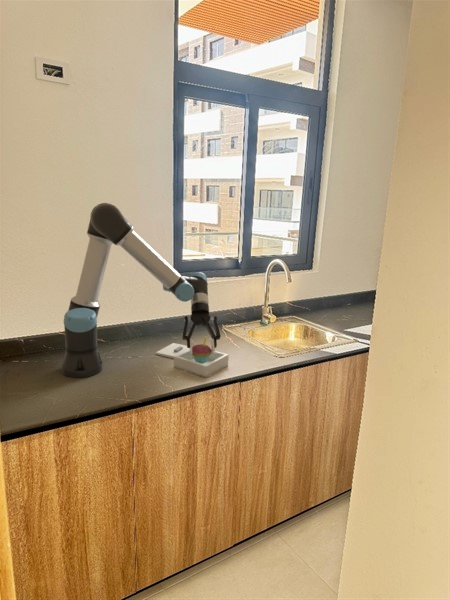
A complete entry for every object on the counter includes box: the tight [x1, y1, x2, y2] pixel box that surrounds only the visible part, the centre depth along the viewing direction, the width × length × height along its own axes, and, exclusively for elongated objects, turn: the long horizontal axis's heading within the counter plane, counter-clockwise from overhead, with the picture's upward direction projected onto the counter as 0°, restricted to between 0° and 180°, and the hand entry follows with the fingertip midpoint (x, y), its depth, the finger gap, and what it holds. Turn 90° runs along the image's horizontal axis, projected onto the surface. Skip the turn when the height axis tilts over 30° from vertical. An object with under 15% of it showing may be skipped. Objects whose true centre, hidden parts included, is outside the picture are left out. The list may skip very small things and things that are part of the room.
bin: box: [173, 349, 229, 379], centre depth 169 cm, size 16×16×5 cm
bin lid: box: [155, 342, 190, 359], centre depth 183 cm, size 14×14×2 cm
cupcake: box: [192, 334, 212, 364], centre depth 168 cm, size 9×8×12 cm
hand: (202, 354), depth 165 cm, fingers closed on cupcake, 8 cm apart
